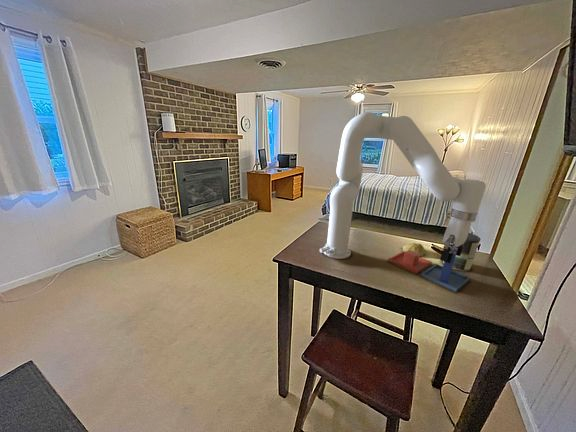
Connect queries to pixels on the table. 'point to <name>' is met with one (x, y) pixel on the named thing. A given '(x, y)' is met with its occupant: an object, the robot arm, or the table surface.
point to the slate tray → (454, 280)
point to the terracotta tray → (416, 268)
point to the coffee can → (467, 253)
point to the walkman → (448, 267)
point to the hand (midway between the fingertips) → (450, 257)
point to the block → (411, 257)
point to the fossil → (415, 248)
